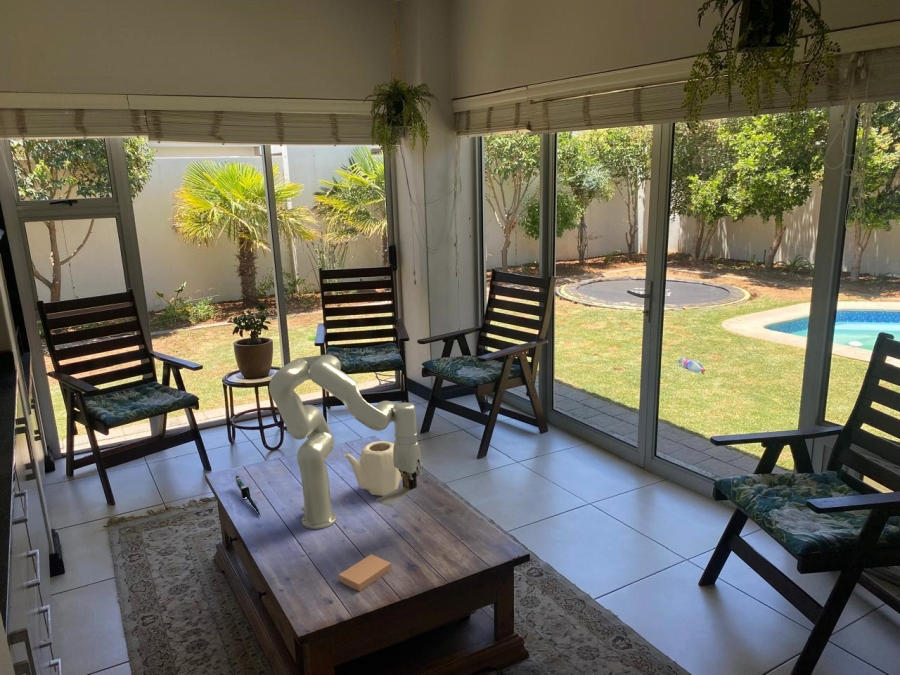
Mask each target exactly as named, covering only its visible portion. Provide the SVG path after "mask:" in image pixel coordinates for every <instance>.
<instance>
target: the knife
mask: <svg viewBox="0 0 900 675" xmlns="http://www.w3.org/2000/svg"><path fill="white" fill-rule="evenodd" d="M235 482H236V485H237V486H238V487H237V488H239V490H240V493H241V499H242V498H245V497H247V499H246V500H249V501H248V502H249V504H250V503H251V504H250V505H251V507H252V506H253V507H254V508H255V509H256V511H257V512H258V513H257V512H256V511H255V512H256V513H257V515H258V514H259V515H260V516H259V515H258V516H259V517H261V513H260V510H259V508H258V506H257V505H256V503H255V501H254V500H253V498H252V497H251V493H250V487H249V486H245V485H244V482H243V481H242V479H241V478H240V476H239V475H236V476H235ZM253 507H252V508H253ZM254 508H253V509H254Z"/></svg>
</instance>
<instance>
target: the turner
mask: <svg viewBox="0 0 900 675" xmlns="http://www.w3.org/2000/svg"><path fill="white" fill-rule="evenodd" d="M413 474H414V473H413ZM403 478H404V487H403V485H402V486H400V487H399V486H398V488H397V489H395V490H394V491H392V492H390V493H388V494H386V495H384V496H381V497H379V498H377V499H375V502H376V503H379V504H382V505H383V506H386V507H387V506H389V505H390V504H393V503H395V502H396V501H398V500H400V499H402V498H403V497H404V498H405V497H406V496H407V495H409V494H411V493H413V489H412V490H410V489H409V479H410V477H409V473H408V472H405V473H403ZM417 478H418V476H417V477H416V483H417V484H418V482H417V481H418V480H417Z"/></svg>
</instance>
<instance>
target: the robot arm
mask: <svg viewBox="0 0 900 675" xmlns="http://www.w3.org/2000/svg"><path fill="white" fill-rule="evenodd" d="M341 364H342V363H341V362H340V360H339V359H338V357H336V356H334V355H332V354H320V355H313V356H305V357H298V358H295V359H294V360H291V361H290V362H288V363H287V364H285V365H284V366H282V367H281V368H280V369H278V370H277V371H276V372H275V373H274V374H273V376H272V377H271V379H270V381H269V384H268V385H269V386H268V389H269V393H270V396H271V399H272V401H273V402H274V404H275V406H276V407H277V410H278V412H279V414H280V417H281V418H282V420H283V423H284V424H285V427H286V429H287V431H288V433H289V434H290V436H291V437H292V438H293V439H295V440H297V441H298V440H305V438H307V439H306V440H305V441H303V443H302V444H301V445H300V447H299V448H298V450H297V453H296V460H297V464H298V467H299V471H300V477H301V486H302V495H303V504H304V505H303V506H301V508H300V510H301V511H302V512H303V513H304V516H303V517H302V519H301V525H302V526H303V527H305V528H306V529H311V530H319V529H324V528H328V527H330V526H331V525H333V524H334V523H336V521H337V518H338V517H337V514H336V512H334V511H332V510H333V509H332V501H331V500H332V499H331V489H330V480H329V479H330V478H329V472H328V468H327V466H326V459H327V457H328V456H329V455H330V454H331V453H332V451H333V450H334V447H335V439H334V436H333V434H332V432H331V429H330V427H329V425H328V423H327V421H326V418H325V416H324V415H323V413H322V412H321V410H320V409H319V408H318V407H317V406H315V405H312V404H305V405H304V404H303V401H302V399H301V397H300V396H299V395H298V394H297V392H296V391H295V389H297V387H298V386H300V385H302V384H303V383H304V382H306V381H309V380H311V381H312V382H313V383H315V385H317V386H319V387H320V388H322V389H324V390H325V391H326V392H327V393H328V394H331V395H332V396H334V397H335V398H337V399H338V400H340V401H341V402H342V403H343V404H344V407H345V408H346V409H347V411H348V412H349V414H350V415H351V417H353V418H354V419H355V420H356V421H357V422H359V423H361V424H362V425H363V426H365V427H367V428H368V429H369V430H371V431H372V430H373V431H374V432H375V431H376V432H381V431H384V430H386V428H388V426H389V425H390V424H391V423H394V437H395V438H394V439H395V440H394V442H393V444H394V448H393V463H394V467H395V468H397V469H399V471H400V473H401V476H402V480H401V481H402V487H404V478H403V473H405V472H408V473H409V477H410V479H409V489H410V490H412V491H413V490H414V489H416V488H418V482H417V483H416V477H417V478H418V477H419V476H422V475H423V471H422V468H423V467H422V466H423V465H422V464H423V463H422V453H421V449H420V444H419V442H418V431H417V415H416V406H415V405H414V404H413V403H411V402H395V401H390V400H383V401H379V402H378V403H377V404H376V406H373V405H371V404H370V403H369V402H367V400H365V399H364V398H363V396H362V394H361V393H360V388H359V384H358V382H357V380H355V379H354V378H353V377H351V376H349V375H348V374H347V373H345V372H344V371H342V370H341V369H342V365H341ZM413 473H414V474H413Z"/></svg>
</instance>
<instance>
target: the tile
mask: <svg viewBox="0 0 900 675" xmlns="http://www.w3.org/2000/svg"><path fill="white" fill-rule="evenodd" d="M392 569H393V568H392V562H389V561H388V560H385V559H383V558H380V557H379V556H376V555H374V554H373V553H371V554H369V555H368V556H366V557H364V558H363V559H361V560H360V561H358V562H356V563H355V564H353V565H351V566H350V567H348V568H347V569H346V570H344V571H342V572H340V573H339V574H338V579H339V581H338V582H340V583H342V584H344V585H345V586H348V587H350V588H352V589H354V590H356V591H358V592H361V591H362V590H364V589H365V588H367V587H368V586H370V585H371V584H373V583H374V582H376V581H377V580H379V579H380V578H382V577H383V576H385V575H386V574H388V573H389V572H391V571H392Z"/></svg>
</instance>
